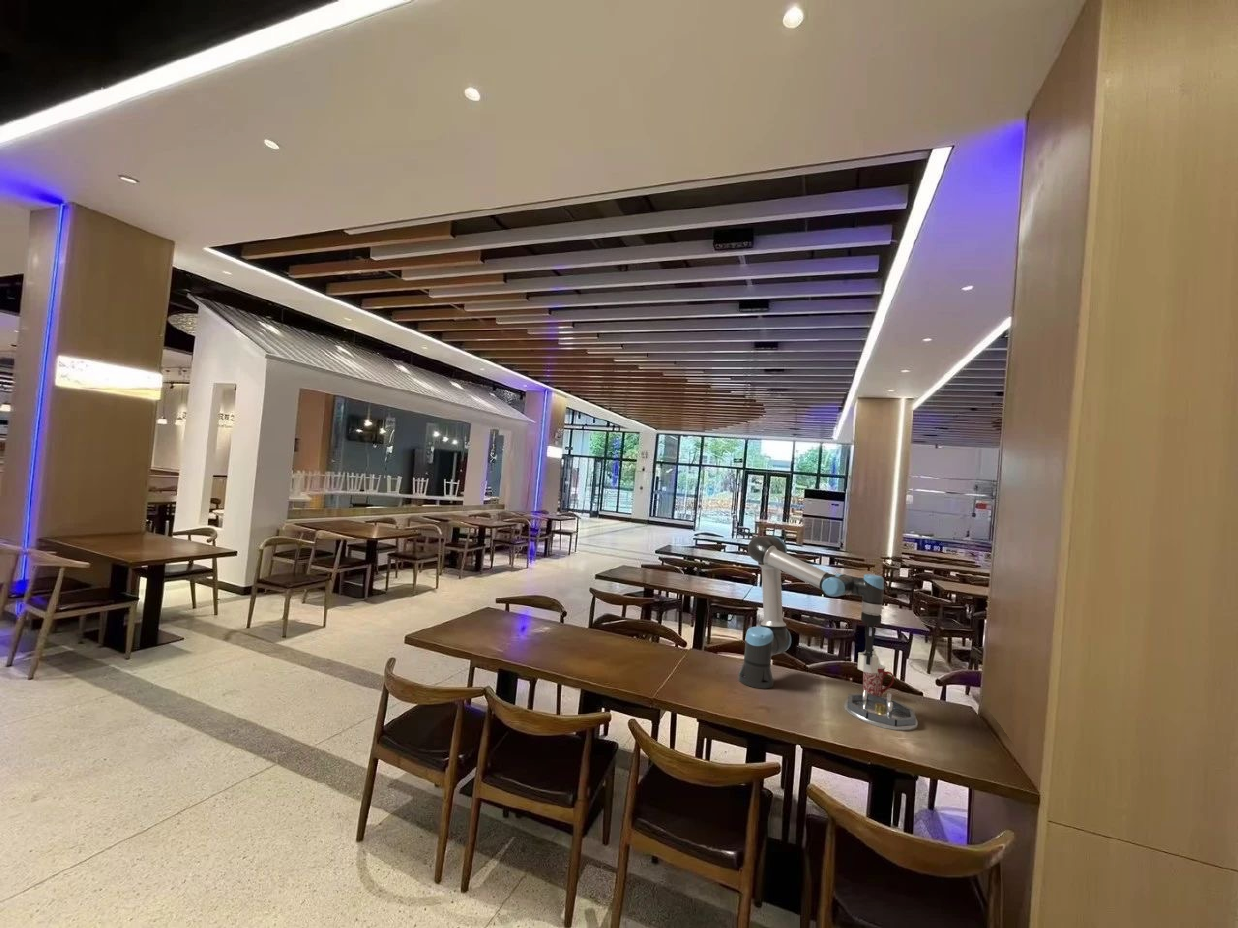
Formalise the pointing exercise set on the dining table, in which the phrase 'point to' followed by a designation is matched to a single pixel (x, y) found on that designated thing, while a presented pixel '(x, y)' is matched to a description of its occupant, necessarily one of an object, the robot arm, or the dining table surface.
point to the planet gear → (874, 662)
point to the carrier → (881, 711)
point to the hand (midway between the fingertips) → (867, 669)
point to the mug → (876, 681)
